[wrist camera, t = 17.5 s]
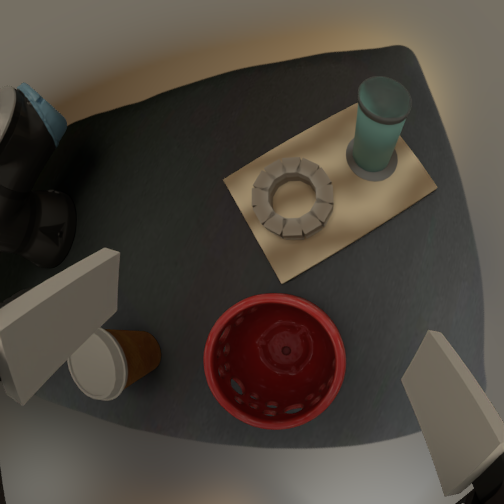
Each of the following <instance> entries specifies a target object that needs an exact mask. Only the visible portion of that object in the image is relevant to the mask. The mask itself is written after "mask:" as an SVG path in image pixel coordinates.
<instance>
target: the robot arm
mask: <svg viewBox="0 0 504 504" xmlns="http://www.w3.org/2000/svg"><path fill="white" fill-rule="evenodd" d="M66 128H67V122H66V119H65V118H64V117H63V116H62V115H61V114H60V113H59V112H58V111H57V110H55V108H53V107H52V106H51V105H50V104H49V103H48V102H47V101H46V100H45V99H43V98H42V97H41V96H40V95H39V94H38V93H37V92H36V91H35V90H34V89H32V88H31V87H30V86H29V85H28V84H26V83H22V84H21V85H20V86H18V87H17V90H16V89H14V88H13V87H11V86H5V87H2V88H1V89H0V251H2V252H8V253H14V254H19V255H20V256H22V257H24V258H26V259H27V260H29V261H31V262H32V263H33V264H35V265H37V266H39V267H45V268H53V267H55V266H57V265H59V264H60V263H61V262H62V261H63V260H64V258H65V257H66V255H67V253H68V252H69V249H70V247H71V245H72V242H73V238H74V234H75V228H76V212H75V207H74V203H73V201H72V199H71V198H70V197H69V196H68V195H67V194H66V193H63V192H60V191H58V190H48V191H46V190H41V191H31V189H32V187H33V186H34V184H35V182H36V180H37V178H38V177H39V175H40V173H41V171H42V170H43V168H44V166H45V164H46V163H47V161H48V160H49V158H50V156H51V155H52V153H53V151H54V150H55V148H57V146H58V143H59V141H60V139H61V138H62V136H63V134H64V133H65V131H66ZM119 259H120V252H117V251H114V250H111V249H108V248H103V249H101V250H99V251H98V252H96V253H94V254H92V255H90V256H88V257H87V258H85V259H83V260H81V261H79V262H77V263H76V264H74V265H72V266H70V267H69V268H67V269H65V270H63V271H62V272H60V273H58V274H56V275H55V276H53V277H51V278H49V279H48V280H46V281H44V282H43V283H41V284H39V285H38V286H36V287H31V288H27V289H24V290H21V291H19V292H18V293H16V294H14V295H13V296H11V298H8V299H6V300H4V301H3V303H0V381H1V382H2V384H3V387H4V390H5V392H6V394H7V395H8V396H9V397H11V398H12V399H13V400H15V401H16V402H18V403H19V404H20V405H22V406H23V405H24V404H25V403H26V402H27V401H28V400H29V399H30V398H31V397H32V396H33V395H34V393H35V392H36V391H37V390H38V389H39V388H40V387H41V386H42V385H43V384H44V383H45V382H46V381H47V380H48V379H49V378H50V377H51V376H52V375H53V374H54V373H55V371H56V370H57V369H58V368H59V367H60V366H61V365H62V364H63V363H64V362H65V361H66V360H67V359H68V358H69V357H70V356H71V355H72V354H73V353H74V352H75V351H76V350H77V349H78V348H79V347H80V346H81V345H82V344H83V343H84V342H85V341H86V340H87V339H88V338H89V337H90V336H91V335H92V334H93V333H94V332H95V331H96V330H97V329H99V328H100V327H101V326H102V325H103V324H104V323H105V322H106V321H107V320H108V319H109V318H110V317H111V316H112V315H113V314H114V313H115V312H116V311H117V296H118V275H119ZM401 381H402V384H403V386H404V388H405V391H406V393H407V395H408V398H409V400H410V403H411V405H412V407H413V410H414V412H415V415H416V417H417V420H418V422H419V425H420V427H421V430H422V433H423V435H424V438H425V440H426V443H427V446H428V448H429V451H430V454H431V457H432V460H433V463H434V465H435V468H436V471H437V474H438V477H439V480H440V483H441V486H442V489H443V493H444V496H450V495H454V494H459V493H461V492H462V491H463V490H464V489H466V488H467V487H468V486H469V485H470V484H471V483H472V484H473V487H474V489H473V490H472V491H470V492H469V493H468V494H467V495H466V496H464V497H463V498H462V499H461V500H460V501H458V502H457V503H456V504H462V503H464V504H504V422H503V421H502V420H501V417H500V416H499V414H498V413H497V411H496V410H495V408H494V406H493V405H492V403H491V402H490V400H489V399H488V397H487V396H486V394H485V393H484V391H483V390H482V388H481V387H480V385H479V384H478V382H477V381H476V380H475V378H474V377H473V375H472V374H471V372H470V371H469V370H468V368H467V367H466V365H465V364H464V363H463V361H462V360H461V358H460V357H459V356H458V354H457V353H456V352H455V350H454V349H453V348H452V346H451V345H450V344H449V342H448V341H447V340H446V338H445V337H444V336H443V334H442V333H441V332H436V331H431V330H428V331H427V333H426V335H425V337H424V339H423V341H422V343H421V345H420V347H419V349H418V350H417V352H416V354H415V356H414V358H413V360H412V361H411V363H410V365H409V367H408V368H407V370H406V372H405V373H404V375H403V377H402V378H401ZM0 504H6V501H5V497H4V490H3V484H2V477H1V469H0Z"/></svg>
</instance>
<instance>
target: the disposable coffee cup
mask: <svg viewBox="0 0 504 504" xmlns="http://www.w3.org/2000/svg"><path fill="white" fill-rule="evenodd" d="M160 360H161V351H160V347H159V344H158V342H157V341H156V339H155V338H154V337H153V336H152V335H151V334H149V333H148V332H145V331H128V330H110V329H103V328H99V329H97V330H96V331H95V332H94V333H93V334H92V335H91V336H90V337H89V338H88V339H87V340H86V341H85V342H84V343H83V344H82V345H81V346H80V347H79V348H78V349H77V350H76V351H75V352H74V353H73V354H72V355H71V356H70V357H69V358H68V359H67V362H68V367H69V371H70V373H71V376H72V378H73V380H74V382H75V383H76V384H77V386H78V387H79V389H80V390H81V391H82V392H83V393H85V394H86V395H87V396H89V397H91V398H93V399H100V400H105V401H108V400H112V399H115V398H116V397H118V396H119V395H120V394H121V392H122V391H123V389H125V388H127V387H128V386H130V385H131V384H133V383H134V382H136V381H137V380H139V379H140V378H142V377H143V376H145V375H146V374H148V373H149V372H151V371H152V370H154V369H156V367H157V366H158V365H159V363H160Z"/></svg>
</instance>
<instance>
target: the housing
mask: <svg viewBox="0 0 504 504" xmlns="http://www.w3.org/2000/svg"><path fill="white" fill-rule="evenodd" d="M357 110H358V103H356V104H354V105H352V106H350V107H348V108H346V109H345V110H343V111H341V112H339V113H337V114H335V115H333V116H331V117H329V118H327V119H326V120H324V121H322V122H320V123H318V124H316V125H315V126H313V127H311V128H309V129H307V130H306V131H304V132H302V133H300V134H298V135H297V136H295V137H293V138H291V139H290V140H288V141H286V142H284V143H283V144H281V145H279V146H278V147H276V148H274V149H272V150H271V151H269V152H267V153H266V154H264V155H262V156H261V157H259V158H257V159H256V160H254V161H252V162H251V163H249V164H248V165H246V166H244V167H243V168H241V169H240V170H238V171H236V172H235V173H233V174H232V175H230V176H228V177H227V178H225V179H224V182H225V184H226V186H227V187H228V189H229V191H230V193H231V194H232V196H233V198H234V200H235V202H236V203H237V205H238V207H239V209H240V210H241V212H242V214H243V216H244V217H245V219H246V221H247V223H248V225H249V226H250V228H251V230H252V232H253V234H254V235H255V237H256V239H257V241H258V242H259V244H260V246H261V248H262V250H263V251H264V253H265V255H266V257H267V259H268V260H269V262H270V264H271V266H272V268H273V269H274V271H275V273H276V275H277V277H278V278H279V280H280V282H281V284H284V283H286V282H287V281H289V280H291V279H293V278H294V277H296V276H298V275H300V274H301V273H303V272H305V271H306V270H308V269H310V268H311V267H313V266H315V265H317V264H318V263H320V262H322V261H323V260H325V259H327V258H328V257H330V256H332V255H333V254H335V253H337V252H338V251H340V250H342V249H343V248H345V247H347V246H348V245H350V244H351V243H353V242H355V241H356V240H358V239H360V238H361V237H363V236H365V235H366V234H368V233H369V232H371V231H373V230H374V229H376V228H377V227H379V226H381V225H382V224H384V223H385V222H387V221H388V220H390V219H392V218H393V217H395V216H396V215H398V214H399V213H401V212H403V211H404V210H406V209H407V208H409V207H410V206H412V205H413V204H415V203H416V202H418V201H419V200H421V199H423V198H424V197H426V196H427V195H429V194H430V193H432V192H433V191H435V190H436V189H437V186H436V185H435V183H434V182H433V180H432V179H431V177H430V176H429V174H428V173H427V171H426V170H425V168H424V167H423V166H422V164H421V163H420V161H419V160H418V159H417V157H416V156H415V155H414V153H413V152H412V151H411V149H410V148H409V147H408V145H407V144H406V143H405V141H404V140H403V139H402V138H401V136H400V135H399V138H398V141H397V143H396V146H395V148H394V151H393V153H392V156H391V158H390V160H389V163H388V165H387V166H386V167H385V168H384V169H383V170H381V171H378V172H368V171H365V170H363V169H362V168H360V167H359V166H358V165H357V164H356V162H355V161H354V158H353V145H354V137H355V128H356V119H357Z"/></svg>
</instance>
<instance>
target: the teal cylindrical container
mask: <svg viewBox="0 0 504 504" xmlns="http://www.w3.org/2000/svg"><path fill="white" fill-rule="evenodd" d="M411 105H412V101H411V97H410V94H409V93H408V91H407V90H406V88H405V87H404V86H403V85H401V84H400V83H399V82H397V81H395V80H393V79H391V78H387V77H381V76H377V77H371V78H368V79H366V80H365V81H363V82H362V83H361V85H360V86H359V89H358V110H357V119H356V128H355V137H354V145H353V158H354V161H355V162H356V164H357V165H358V166H359V167H360V168H362V169H363V170H365V171H368V172H378V171H381V170H383V169H384V168H385V167H386V166H387V165H388V163H389V160H390V158H391V156H392V153H393V151H394V148H395V146H396V143H397V141H398V138H399V135H400V133H401V130H402V128H403V125H404V122H405V120H406V118H407V116H408V114H409V112H410V109H411Z"/></svg>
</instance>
